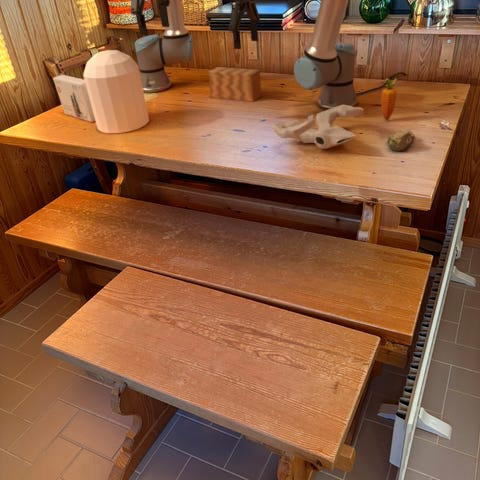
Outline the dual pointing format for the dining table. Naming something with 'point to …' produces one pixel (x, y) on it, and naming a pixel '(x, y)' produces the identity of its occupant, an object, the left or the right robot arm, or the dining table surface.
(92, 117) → the skincare box
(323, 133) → the animal horns
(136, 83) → the container
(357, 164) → the dining table surface
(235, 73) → the box
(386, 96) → the carrot
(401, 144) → the rock
